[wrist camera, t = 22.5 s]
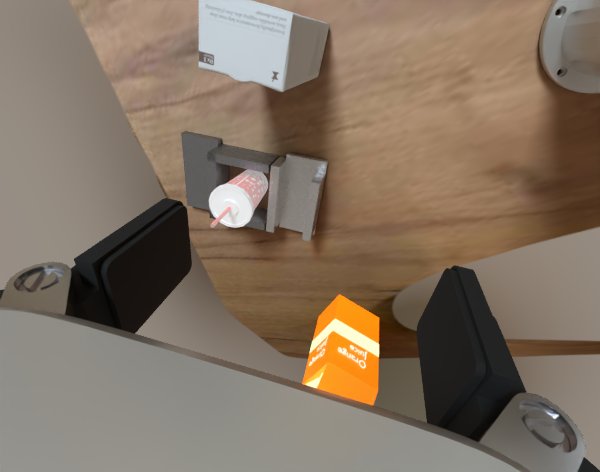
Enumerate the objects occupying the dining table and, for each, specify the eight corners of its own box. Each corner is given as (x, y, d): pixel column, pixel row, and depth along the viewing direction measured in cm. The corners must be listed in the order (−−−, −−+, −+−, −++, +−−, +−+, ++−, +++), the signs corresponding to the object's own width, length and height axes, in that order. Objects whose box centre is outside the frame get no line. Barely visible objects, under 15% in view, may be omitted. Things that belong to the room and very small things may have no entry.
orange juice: (355, 338, 60) (345, 449, 43) (317, 316, 59) (292, 420, 43) (380, 317, 56) (378, 431, 39) (339, 293, 55) (320, 398, 38)
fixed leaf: (279, 150, 44) (269, 159, 40) (272, 221, 50) (263, 235, 46) (185, 131, 46) (168, 138, 42) (191, 202, 52) (176, 214, 48)
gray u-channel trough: (328, 160, 43) (321, 173, 38) (315, 231, 49) (308, 249, 45) (280, 150, 43) (269, 162, 39) (274, 222, 50) (263, 238, 46)
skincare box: (330, 23, 35) (301, 7, 22) (318, 80, 38) (286, 95, 26) (261, 5, 35) (196, -19, 23) (255, 63, 39) (194, 69, 26)
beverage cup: (233, 193, 49) (187, 237, 38) (238, 158, 46) (189, 194, 34) (268, 206, 49) (232, 254, 37) (276, 171, 45) (240, 212, 34)
